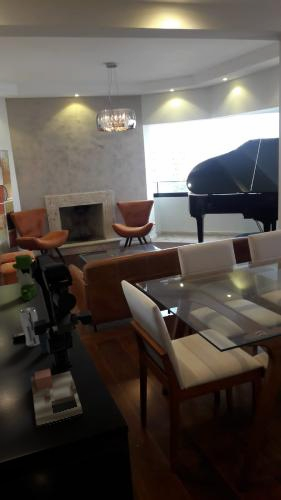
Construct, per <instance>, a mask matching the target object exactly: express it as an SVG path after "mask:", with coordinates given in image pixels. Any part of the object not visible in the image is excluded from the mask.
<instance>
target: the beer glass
mask: <svg viewBox="0 0 281 500" xmlns="http://www.w3.org/2000/svg"><path fill="white" fill-rule="evenodd" d="M19 319H20V324H21V328H22V330H23V333H24V336H25V346H26V347H30V348H31V347H36V346H38V345H40V342H39V336H38V335H35V333H34V324H33V323H34V322H35V321H39V317H38V313H37V310H36V307H33V306H30V307H26V308H23V309H21V310H19Z"/></svg>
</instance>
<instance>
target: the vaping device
mask: <svg viewBox="0 0 281 500" xmlns="http://www.w3.org/2000/svg"><path fill="white" fill-rule="evenodd" d="M48 331H49V329H47V332H46V333H45V334H41V335H38V336H39V342H40V344H39V345H40V351H41V354H43V355H45V354H47V353H48V354H49V352H48V350H47V345H46V343H47V339H48V336H47V334H48Z"/></svg>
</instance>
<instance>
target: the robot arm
mask: <svg viewBox="0 0 281 500" xmlns="http://www.w3.org/2000/svg"><path fill="white" fill-rule="evenodd" d="M32 261H33V262H32V263H31V264H30V276H31V279H33V282H34V286H35V287H38V289H39V290H40V293H41V297H42V301H43V302H42V303H43V305H44V309H45V313H46V316H47V322H46V319H45V318H44V319H40V320H39V319H38V321H35V322H34V323H33V324H34V333H35V335H41V334H45V333H46V332H47V330H49V331H48V334H47V336H48V339H47V343H46V345H47V350H48V354H49V355H52V358H53V361H52V365H53V369H54V371H57V370H61V369H65V368H69V367H72V366H73V362H72V359H71V357H70V353H69V350H70V349H73V346H74V344H73V340H74V335H72V333H73V331H74V330H76V329H77V327H76V326H77V325H79V323H81V325H83V326H86V325H87V326H88V325H92V324H93V323H94V319H93V314H92V313H91V311H90V310H84V311H79V312H78V313H77V312H74V313H72V312H71V311H72V310H73V309H75V307H76V305H77V298H76V296H75V294H73V293H72V291H70V290H69V287H71V286H73V282H74V279H73V276H72V274H71V270H70V268H68V266H67V265H66V264H65V263H64V262H60V261H59V262H56V261H54V259H52V258H51V256H50V254H49V253H48V254H47V253H44V254H39V255H36V256H34V260H32Z"/></svg>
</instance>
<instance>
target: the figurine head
mask: <svg viewBox="0 0 281 500" xmlns="http://www.w3.org/2000/svg"><path fill="white" fill-rule="evenodd" d="M14 259H15V263H13V264H12V268H13V269H14V270H16V273H15V274H16V275H15V277H16V278H17V279H16V282H18V284H19V285H20V296H21V299H23V300H24V301H25V302H26V301H30V300H31V299H33V298H34V297H35V296H36V295H37V294H38V293H37V288H36V287H37V286H36V285H35V284H34V281H33V279H31V276H30V264H31V263H32V262H33V261H34V260H33V258H32V256H31V255H30V254H19V255H16V256H15V257H14Z"/></svg>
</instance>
